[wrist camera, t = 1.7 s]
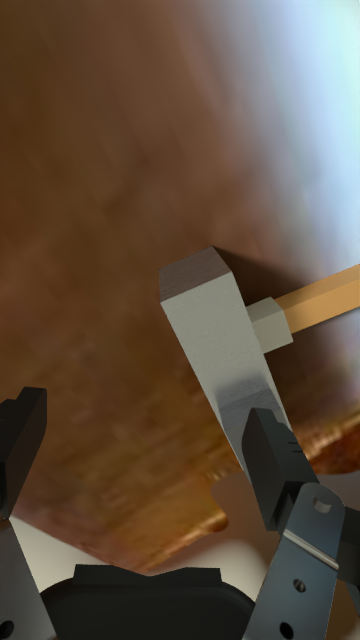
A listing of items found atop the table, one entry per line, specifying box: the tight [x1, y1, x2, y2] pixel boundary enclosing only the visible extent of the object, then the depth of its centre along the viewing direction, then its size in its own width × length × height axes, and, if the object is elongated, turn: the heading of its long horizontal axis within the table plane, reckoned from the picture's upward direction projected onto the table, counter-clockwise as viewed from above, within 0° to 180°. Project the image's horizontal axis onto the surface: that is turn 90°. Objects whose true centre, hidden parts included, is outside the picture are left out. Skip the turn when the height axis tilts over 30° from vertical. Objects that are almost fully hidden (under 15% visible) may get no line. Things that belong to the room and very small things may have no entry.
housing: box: [159, 246, 293, 484], centre depth 33 cm, size 6×20×13 cm, turn 24°
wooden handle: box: [246, 264, 360, 354], centre depth 36 cm, size 23×4×4 cm, turn 113°
